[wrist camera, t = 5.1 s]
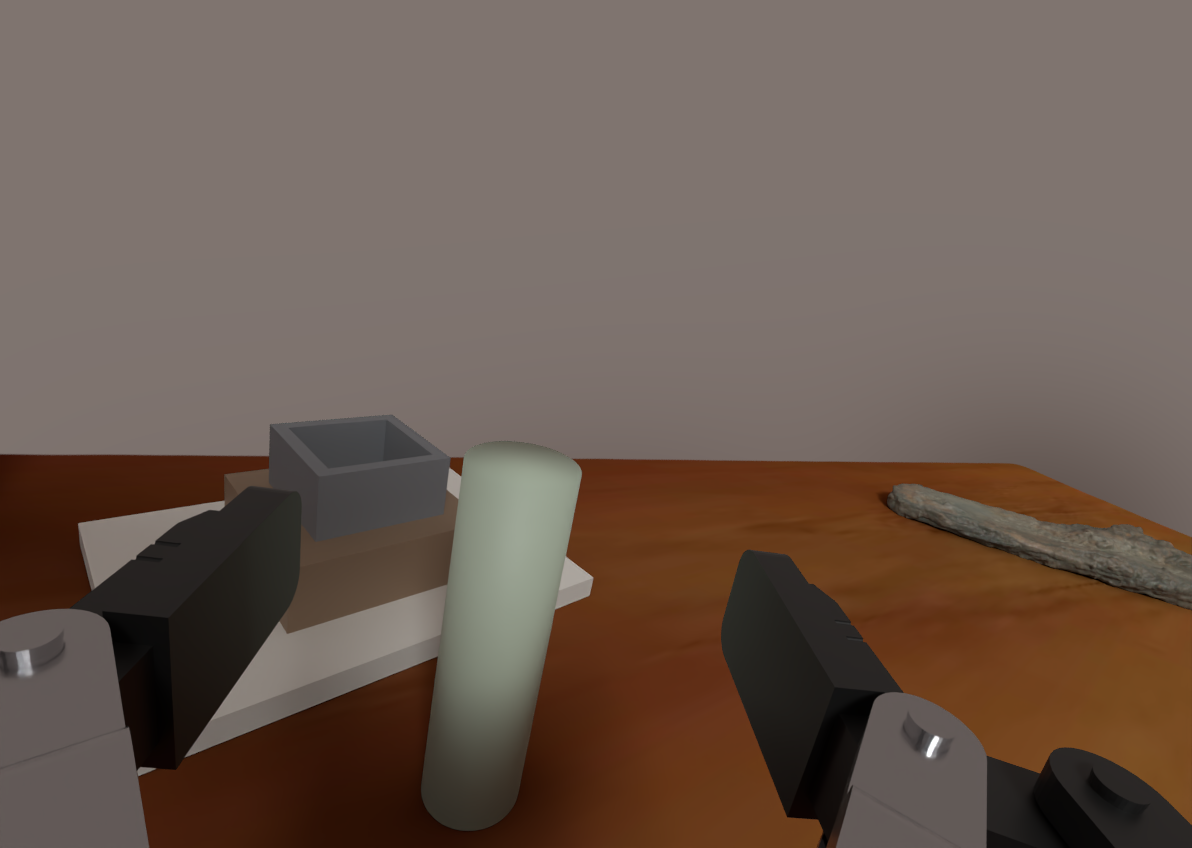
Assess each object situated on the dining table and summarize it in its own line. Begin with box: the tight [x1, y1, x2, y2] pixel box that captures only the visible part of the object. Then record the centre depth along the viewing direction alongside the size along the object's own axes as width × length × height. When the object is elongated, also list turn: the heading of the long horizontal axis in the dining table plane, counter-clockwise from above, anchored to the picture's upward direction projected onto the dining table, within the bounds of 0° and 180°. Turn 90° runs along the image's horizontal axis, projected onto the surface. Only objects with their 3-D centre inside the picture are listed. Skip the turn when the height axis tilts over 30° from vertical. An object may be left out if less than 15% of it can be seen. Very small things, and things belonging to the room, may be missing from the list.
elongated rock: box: [887, 484, 1192, 610], centre depth 67 cm, size 35×5×10 cm
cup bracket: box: [78, 415, 593, 776], centre depth 39 cm, size 26×20×10 cm
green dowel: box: [421, 441, 582, 831], centre depth 25 cm, size 4×4×16 cm
